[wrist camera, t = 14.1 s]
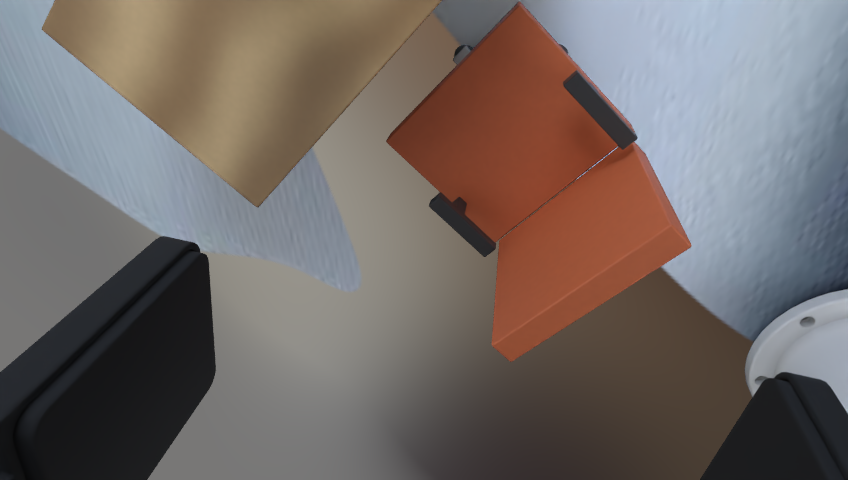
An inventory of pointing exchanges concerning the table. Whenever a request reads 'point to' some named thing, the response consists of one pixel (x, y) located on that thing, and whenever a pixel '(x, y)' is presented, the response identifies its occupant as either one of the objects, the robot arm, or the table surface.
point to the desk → (238, 70)
